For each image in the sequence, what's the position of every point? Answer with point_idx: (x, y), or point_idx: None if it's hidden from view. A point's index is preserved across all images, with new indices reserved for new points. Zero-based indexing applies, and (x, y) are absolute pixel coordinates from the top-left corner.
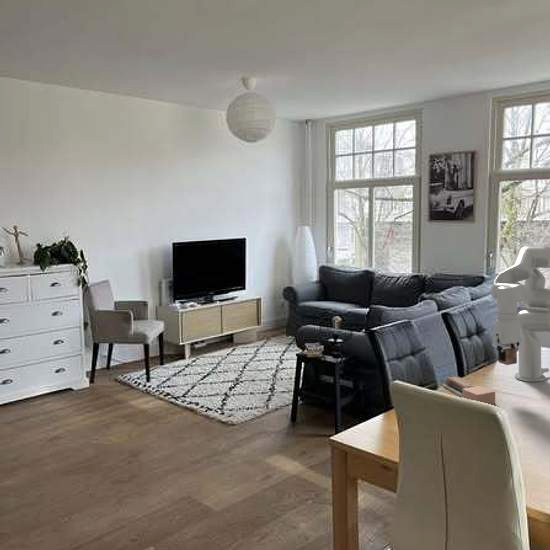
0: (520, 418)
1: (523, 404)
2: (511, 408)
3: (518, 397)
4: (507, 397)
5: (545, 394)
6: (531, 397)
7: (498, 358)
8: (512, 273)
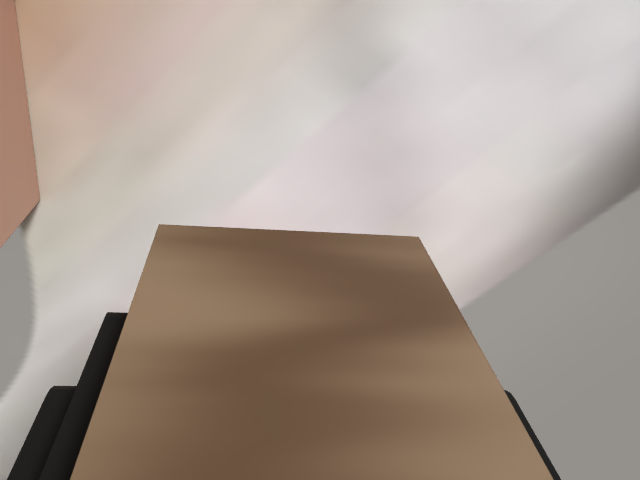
0: (11, 469)
1: None
2: (88, 331)
3: (340, 183)
4: (261, 135)
5: (567, 236)
6: (422, 234)
7: (144, 274)
8: None
